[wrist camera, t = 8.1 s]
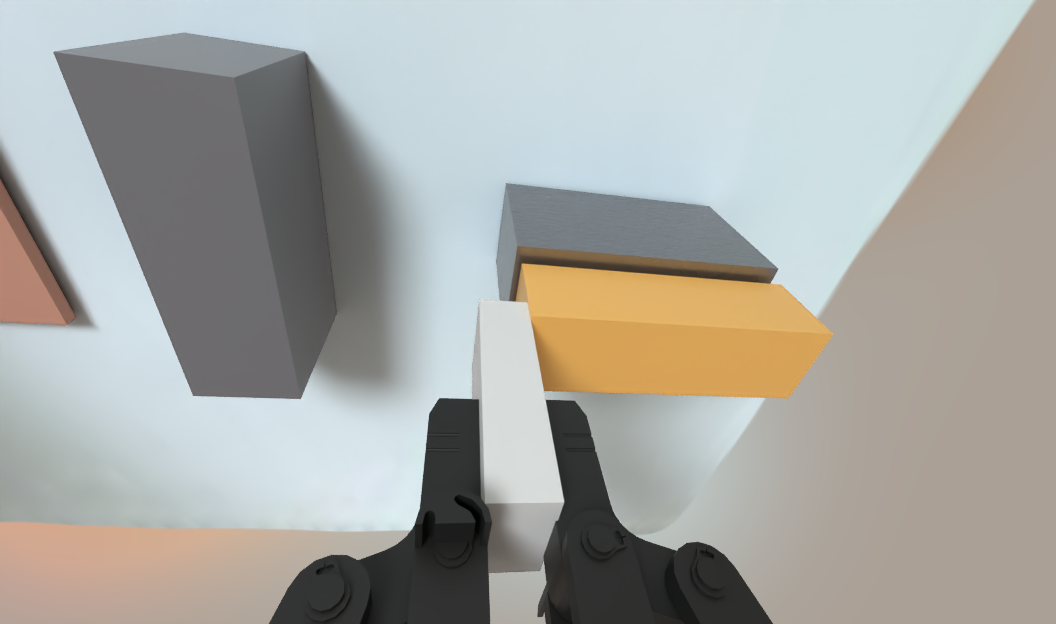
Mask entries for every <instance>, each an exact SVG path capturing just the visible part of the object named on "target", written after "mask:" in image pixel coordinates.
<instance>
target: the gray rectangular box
mask: <svg viewBox="0 0 1056 624" xmlns="http://www.w3.org/2000/svg"><path fill="white" fill-rule="evenodd" d="M522 264H535V265H547V266H559V267H571V268H583V269H596V270H608V271H620V272H632V273H644V274H657V275H669V276H681V277H693V278H706V279H718V280H730V281H742V282H754V283H767V284H770V283H771V281H772V280H773V278H774V276H775V274H776V272H777V271H778V268H777V267H776V266H775V265H774V264H772V263H771V262H770V261H769V260H768V259H767V258H766V257H765V256H764V255H762V254H761V253H760V252H759V251H758V250H757V249H756V248H755V247H754V246H752V245H751V244H750V243H749V242H748V241H747V240H746V239H745V238H744V237H743V236H741V235H740V234H739V233H738V232H737V231H736V230H735V229H734V228H733V227H731V226H730V225H729V224H728V223H727V222H726V221H725V220H724V219H723V218H721V217H720V216H719V215H718V214H717V213H716V212H715V211H714V210H713V209H712V208H710V207H709V206H701V205H693V204H684V203H675V202H666V201H657V200H648V199H640V198H631V197H622V196H613V195H604V194H595V193H587V192H578V191H569V190H560V189H551V188H542V187H534V186H525V185H516V184H507V183H506V187H505V195H504V203H503V211H502V219H501V227H500V235H499V243H498V251H497V259H496V265H497V275H498V286H499V297H500V301H512V302H515V301H516V295H517V289H518V283H519V277H520V271H521V265H522Z"/></svg>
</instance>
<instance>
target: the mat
mask: <svg viewBox="0 0 1056 624" xmlns="http://www.w3.org/2000/svg"><path fill="white" fill-rule="evenodd" d="M75 318H76V316H75V315H74V313H73V311H72V309H71V307H70V306H69V304H68V302H67V300H66V298H65V296H64V295H63V293H62V291H61V289H60V287H59V285H58V284H57V282H56V280H55V278H54V276H53V274H52V273H51V271H50V269H49V267H48V265H47V264H46V262H45V260H44V258H43V256H42V254H41V253H40V251H39V249H38V247H37V245H36V243H35V242H34V240H33V238H32V236H31V234H30V232H29V231H28V229H27V227H26V225H25V223H24V222H23V220H22V218H21V216H20V214H19V212H18V211H17V209H16V207H15V205H14V203H13V201H12V200H11V198H10V196H9V194H8V192H7V190H6V189H5V187H4V185H3V183H2V181H1V180H0V322H17V323H38V324H58V325H67V324H69V323H70V322H71V321H72V320H73V319H75Z"/></svg>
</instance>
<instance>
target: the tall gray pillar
mask: <svg viewBox="0 0 1056 624" xmlns="http://www.w3.org/2000/svg"><path fill="white" fill-rule="evenodd" d="M53 53H54V55H55V57H56V60H57V62H58V65H59V67H60V70H61V72H62V75H63V77H64V80H65V82H66V84H67V87H68V89H69V92H70V94H71V97H72V99H73V102H74V104H75V107H76V109H77V111H78V114H79V116H80V119H81V121H82V124H83V126H84V129H85V131H86V134H87V136H88V139H89V141H90V143H91V146H92V148H93V151H94V153H95V156H96V158H97V161H98V163H99V166H100V168H101V170H102V173H103V175H104V178H105V180H106V183H107V185H108V188H109V190H110V193H111V195H112V197H113V200H114V202H115V205H116V207H117V210H118V212H119V215H120V217H121V220H122V222H123V224H124V227H125V229H126V232H127V234H128V237H129V239H130V242H131V244H132V247H133V249H134V252H135V254H136V256H137V259H138V261H139V264H140V266H141V269H142V271H143V274H144V276H145V279H146V281H147V283H148V286H149V288H150V291H151V293H152V296H153V298H154V301H155V303H156V306H157V308H158V310H159V313H160V315H161V318H162V320H163V323H164V325H165V328H166V330H167V333H168V335H169V337H170V340H171V342H172V345H173V347H174V350H175V352H176V355H177V357H178V360H179V362H180V364H181V367H182V369H183V372H184V374H185V377H186V379H187V382H188V384H189V387H190V389H191V392H192V394H193V396H216V397H251V398H286V399H301V397H302V394H303V392H304V390H305V387H306V385H307V383H308V380H309V378H310V375H311V373H312V371H313V368H314V366H315V364H316V361H317V359H318V356H319V354H320V352H321V349H322V347H323V345H324V342H325V340H326V337H327V335H328V333H329V330H330V328H331V326H332V323H333V321H334V318H335V316H336V314H337V313H336V305H335V296H334V288H333V280H332V271H331V263H330V255H329V247H328V238H327V230H326V222H325V213H324V205H323V197H322V188H321V180H320V172H319V163H318V155H317V147H316V139H315V130H314V122H313V114H312V105H311V97H310V89H309V80H308V72H307V64H306V55H305V52H304V51H297V50H291V49H285V48H278V47H272V46H265V45H259V44H252V43H246V42H240V41H233V40H227V39H220V38H214V37H208V36H201V35H195V34H188V33H179V34H172V35H165V36H158V37H151V38H144V39H138V40H131V41H124V42H117V43H110V44H103V45H96V46H89V47H83V48H76V49H69V50H62V51H55V52H53Z"/></svg>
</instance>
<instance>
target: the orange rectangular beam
mask: <svg viewBox="0 0 1056 624" xmlns="http://www.w3.org/2000/svg"><path fill="white" fill-rule="evenodd" d="M515 302H527V304H528V309H529V315H530V320H531V323H532V329H533V334H534V340H535V345H536V351H537V356H538V361H539V367H540V372H541V378H542V383H543V389H544V391H567V392H599V393H631V394H663V395H695V396H727V397H759V398H789V397H790V395H791V394H792V392H793V391H794V390H795V388H796V387H797V385H798V384H799V383H800V381H801V380H802V378H803V377H804V375H805V374H806V373H807V371H808V370H809V368H810V367H811V366H812V364H813V363H814V361H815V360H816V358H817V357H818V356H819V354H820V353H821V351H822V350H823V349H824V347H825V346H826V344H827V343H828V341H829V340H830V339H831V337H832V336H833V333H832V332H831V331H829V330H828V329H827V328H826V327H825V326H824V325H823V324H822V323H821V322H820V321H819V320H818V319H817V318H816V317H815V316H814V315H813V314H812V313H811V312H809V311H808V310H807V309H806V308H805V307H804V306H803V305H802V304H801V303H800V302H799V301H798V300H797V299H796V298H795V297H794V296H793V295H791V294H790V293H789V292H788V291H787V290H786V289H785V288H784V287H783V286H782V285H779V284H767V283H754V282H742V281H730V280H718V279H706V278H693V277H681V276H669V275H657V274H644V273H632V272H620V271H608V270H596V269H583V268H571V267H559V266H547V265H535V264H522V265H521V271H520V277H519V283H518V289H517V295H516V301H515Z"/></svg>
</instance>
